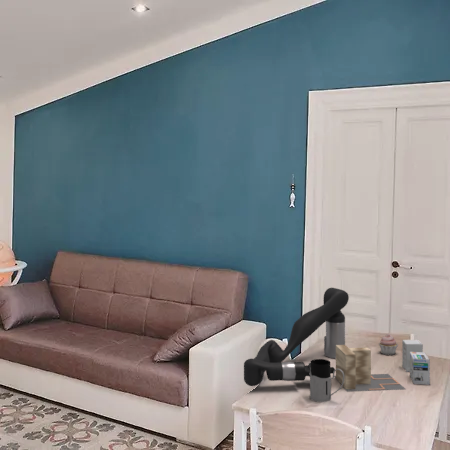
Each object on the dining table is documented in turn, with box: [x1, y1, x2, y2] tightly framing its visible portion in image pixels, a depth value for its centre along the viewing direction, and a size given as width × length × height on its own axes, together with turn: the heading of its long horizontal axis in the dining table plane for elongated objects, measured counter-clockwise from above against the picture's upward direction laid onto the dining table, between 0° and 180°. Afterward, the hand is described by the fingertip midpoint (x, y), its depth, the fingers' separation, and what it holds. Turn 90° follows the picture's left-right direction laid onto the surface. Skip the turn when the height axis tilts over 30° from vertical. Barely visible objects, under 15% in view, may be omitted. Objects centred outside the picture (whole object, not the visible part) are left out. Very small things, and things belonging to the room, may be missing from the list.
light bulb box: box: [409, 351, 431, 386], centre depth 224 cm, size 11×7×11 cm, turn 168°
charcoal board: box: [334, 373, 406, 393], centre depth 219 cm, size 24×19×1 cm
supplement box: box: [401, 339, 424, 373], centre depth 238 cm, size 7×7×13 cm
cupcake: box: [378, 333, 399, 356], centre depth 263 cm, size 9×9×10 cm
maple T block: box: [335, 344, 372, 390], centre depth 218 cm, size 12×14×14 cm
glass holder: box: [309, 358, 344, 403], centre depth 201 cm, size 9×14×15 cm, turn 51°
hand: (334, 370), depth 217 cm, fingers closed
